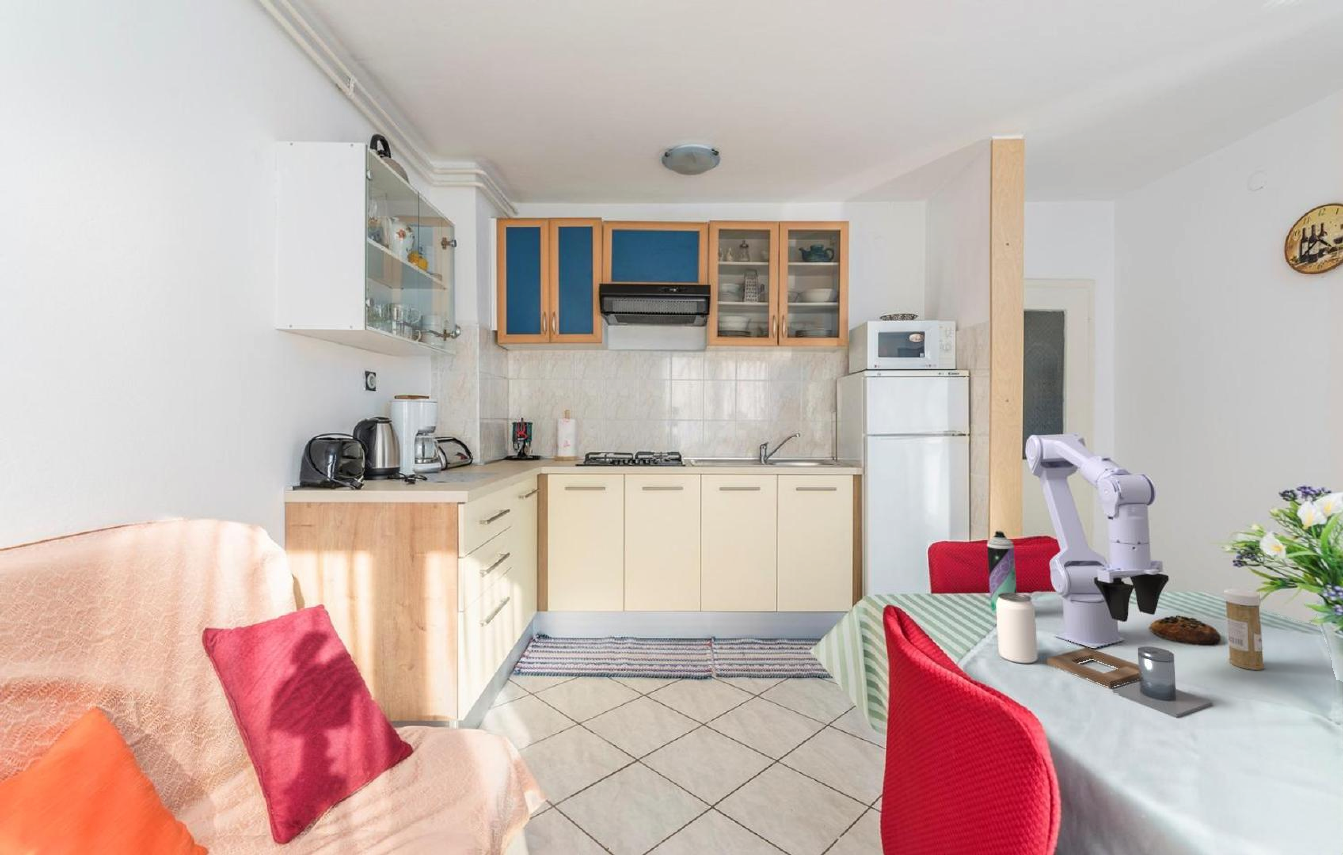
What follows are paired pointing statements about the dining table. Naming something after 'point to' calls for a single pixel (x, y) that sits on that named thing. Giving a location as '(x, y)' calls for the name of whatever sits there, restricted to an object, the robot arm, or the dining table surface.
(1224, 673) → the dining table surface
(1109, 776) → the dining table surface
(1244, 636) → the sprinkles bottle
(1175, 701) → the coaster
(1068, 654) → the collar
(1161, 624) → the bread roll
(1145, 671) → the grey metal cylinder
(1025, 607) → the can
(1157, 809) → the dining table surface
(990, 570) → the spray can
